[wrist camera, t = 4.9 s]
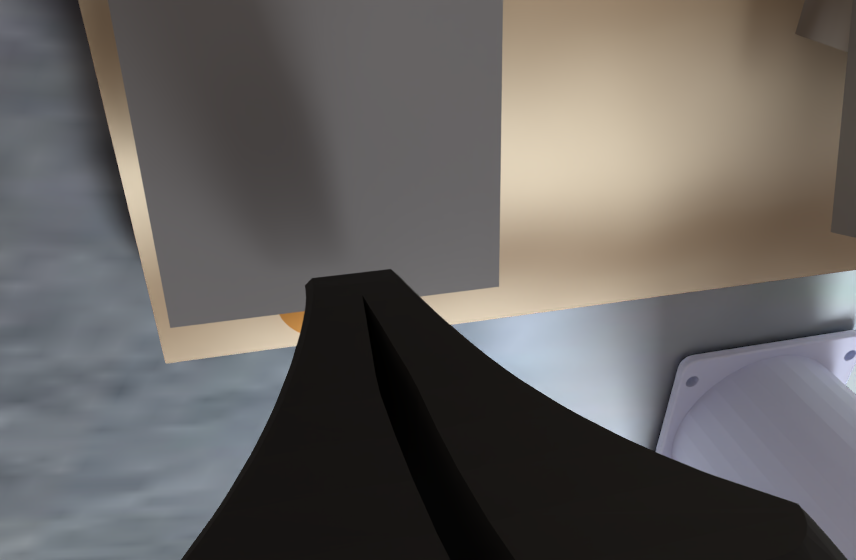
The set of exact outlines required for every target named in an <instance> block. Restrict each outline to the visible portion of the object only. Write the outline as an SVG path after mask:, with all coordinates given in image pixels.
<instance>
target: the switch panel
mask: <svg viewBox="0 0 856 560" xmlns="http://www.w3.org/2000/svg"><path fill="white" fill-rule="evenodd" d="M78 1H79V6H80V10H81V14H82V18H83V22H84V26H85V31H86V35H87V39H88V43H89V47H90V51H91V55H92V60H93V64H94V68H95V72H96V76H97V80H98V84H99V89H100V93H101V97H102V101H103V105H104V109H105V114H106V118H107V122H108V126H109V130H110V134H111V138H112V143H113V147H114V151H115V155H116V159H117V163H118V168H119V172H120V176H121V180H122V184H123V188H124V192H125V197H126V201H127V205H128V209H129V213H130V217H131V222H132V226H133V230H134V234H135V238H136V242H137V246H138V251H139V255H140V259H141V263H142V267H143V271H144V276H145V280H146V284H147V288H148V292H149V296H150V300H151V305H152V309H153V313H154V317H155V321H156V325H157V329H158V334H159V338H160V342H161V346H162V350H163V354H164V359H165V363H173V362H181V361H188V360H195V359H203V358H210V357H217V356H225V355H232V354H239V353H247V352H254V351H262V350H269V349H276V348H284V347H291V346H297V342H298V339H299V335H300V332H301V327H302V323H303V318H304V312H305V311H302V312H294V313H286V314H278V315H270V316H262V317H254V318H246V319H238V320H230V321H222V322H215V323H207V324H199V325H191V326H183V327H175V328H170V324H169V319H168V314H167V308H166V303H165V298H164V293H163V287H162V282H161V277H160V272H159V266H158V261H157V256H156V251H155V245H154V240H153V235H152V230H151V224H150V219H149V214H148V209H147V204H146V198H145V193H144V188H143V183H142V177H141V172H140V167H139V162H138V156H137V151H136V146H135V141H134V135H133V130H132V125H131V120H130V114H129V109H128V104H127V99H126V93H125V88H124V83H123V78H122V72H121V67H120V62H119V57H118V51H117V46H116V41H115V36H114V30H113V25H112V20H111V15H110V9H109V4H108V0H78ZM852 2H853V0H503V40H502V112H501V185H500V257H499V287H493V288H485V289H477V290H469V291H461V292H453V293H445V294H437V295H429V296H421V298H422V299H423V300H424V301H425V302H426V303H427V304H428V305H429V306H430V307H431V308H432V309H433V310H434V311H435V312H437V313H438V314H439V315H440V316H441V317H442V318H443V319H444V320H445V321H446V322H448V323H449V324H450V325H453V324H460V323H468V322H475V321H482V320H490V319H497V318H504V317H512V316H519V315H527V314H534V313H541V312H549V311H556V310H563V309H571V308H578V307H585V306H593V305H600V304H607V303H615V302H622V301H630V300H637V299H644V298H652V297H659V296H666V295H674V294H681V293H688V292H696V291H703V290H711V289H718V288H725V287H733V286H740V285H747V284H755V283H762V282H769V281H777V280H784V279H792V278H799V277H806V276H814V275H821V274H828V273H836V272H843V271H850V270H856V238H854V237H850V236H845V235H841V234H837V233H832V232H831V224H832V213H833V203H834V192H835V181H836V171H837V160H838V150H839V139H840V129H841V118H842V108H843V97H844V86H845V76H846V65H847V55H848V44H849V34H850V23H851V13H852Z"/></svg>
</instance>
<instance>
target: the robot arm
mask: <svg viewBox="0 0 856 560" xmlns="http://www.w3.org/2000/svg"><path fill="white" fill-rule="evenodd" d="M305 292H306V305H305V312H304V318H303V323H302V327H301V332H300V335H299V339H298V342H297V346H296V349H295V353H294V356H293V360H292V363H291V366H290V368H289V371H288V374H287V376H286V379H285V381H284V384H283V386H282V389H281V392H280V394H279V397H278V399H277V402H276V404H275V406H274V409H273V411H272V413H271V415H270V417H269V420H268V422H267V424H266V426H265V428H264V430H263V432H262V434H261V436H260V438H259V440H258V442H257V444H256V446H255V447H254V449H253V451H252V453H251V455H250V457H249V458H248V460H247V462H246V464H245V465H244V467H243V469H242V470H241V472H240V474H239V475H238V477H237V479H236V481H235V482H234V484H233V486H232V487H231V489H230V491H229V492H228V494H227V495H226V497H225V498H224V500H223V502H222V503H221V505H220V506H219V508H218V509H217V511H216V512H215V514H214V515H213V517H212V518H211V519H210V521H209V522H208V523H207V525H206V526H205V528H204V529H203V530H202V532H201V533H200V534H199V536H198V537H197V539H196V540H195V541H194V543H193V544H192V545H191V547H190V548H189V550H188V551H187V552H186V554H185V555H184V556H183V558H182V559H181V560H856V394H855V393H854V392H853V391H852V390H850V389H849V388H848V387H847V386H846V384H847V381H848V379H849V377H850V375H851V372H852V370H853V368H854V366H855V363H856V330H848V331H842V332H836V333H829V334H823V335H817V336H810V337H804V338H797V339H791V340H785V341H778V342H772V343H766V344H759V345H753V346H747V347H740V348H734V349H728V350H721V351H715V352H709V353H702V354H696V355H691V356H688V357H686V358H685V359H683V360H682V361H681V362H680V364H679V366H678V370H677V373H676V377H675V381H674V384H673V388H672V392H671V396H670V399H669V403H668V407H667V410H666V414H665V418H664V422H663V425H662V429H661V433H660V436H659V440H658V444H657V448H656V451H655V452H654V451H652V450H650V449H647V448H645V447H643V446H641V445H639V444H636V443H634V442H632V441H630V440H628V439H625V438H623V437H621V436H619V435H617V434H615V433H613V432H611V431H609V430H607V429H605V428H603V427H601V426H599V425H598V424H596V423H594V422H592V421H590V420H588V419H586V418H584V417H582V416H580V415H578V414H576V413H575V412H573V411H571V410H569V409H567V408H566V407H564V406H562V405H560V404H559V403H557V402H555V401H554V400H552V399H551V398H549V397H547V396H546V395H544V394H542V393H541V392H539V391H538V390H536V389H534V388H533V387H531V386H530V385H528V384H526V383H525V382H523V381H522V380H520V379H519V378H517V377H516V376H514V375H513V374H511V373H510V372H509V371H507V370H506V369H504V368H503V367H502V366H500V365H499V364H498V363H496V362H495V361H494V360H492V359H491V358H490V357H488V356H487V355H486V354H484V353H483V352H482V351H481V350H479V349H478V348H477V347H476V346H474V345H473V344H472V343H471V342H470V341H468V340H467V339H466V338H465V337H464V336H463V335H461V334H460V333H459V332H458V331H457V330H456V329H455V328H453V327H452V326H451V325H450V324H449V323H448V322H446V321H445V320H444V319H443V318H442V317H441V316H440V315H439V314H438V313H437V312H435V311H434V310H433V309H432V308H431V307H430V306H429V305H428V304H427V303H426V302H425V301H424V300H423V299H422V298H421V297H420V296H419V295H418V294H417V293H416V292H415V291H414V290H413V289H412V288H411V287H410V286H409V285H408V284H407V283H406V282H405V281H404V280H403V279H402V278H401V277H400V276H399V275H397V274H396V273H395V272H394V271H393V270H392V269H386V270H377V271H369V272H360V273H352V274H343V275H334V276H326V277H317V278H312V279H311V280H310V281H309V282H308V283H307V284H306V285H305Z"/></svg>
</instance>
